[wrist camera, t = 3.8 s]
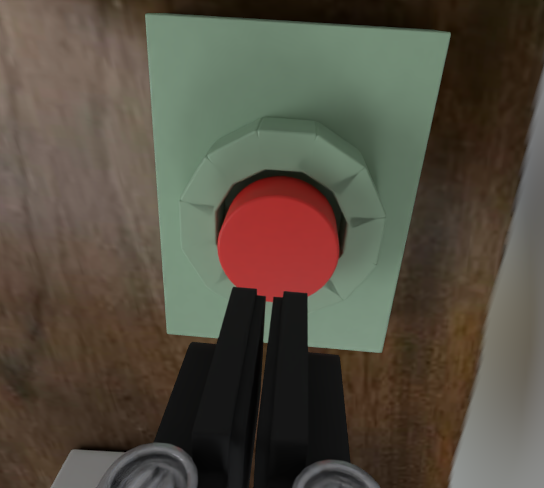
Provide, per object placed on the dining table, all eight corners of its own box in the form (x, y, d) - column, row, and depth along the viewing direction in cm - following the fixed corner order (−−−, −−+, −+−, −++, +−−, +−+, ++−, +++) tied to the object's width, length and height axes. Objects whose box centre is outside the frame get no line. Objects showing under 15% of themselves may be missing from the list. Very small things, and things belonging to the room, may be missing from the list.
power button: (226, 170, 14) (216, 190, 12) (342, 179, 14) (347, 200, 12) (225, 270, 16) (216, 299, 14) (329, 278, 15) (332, 308, 14)
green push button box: (165, 12, 15) (122, 13, 12) (433, 29, 15) (472, 35, 11) (180, 303, 21) (153, 364, 17) (374, 320, 20) (389, 385, 17)
